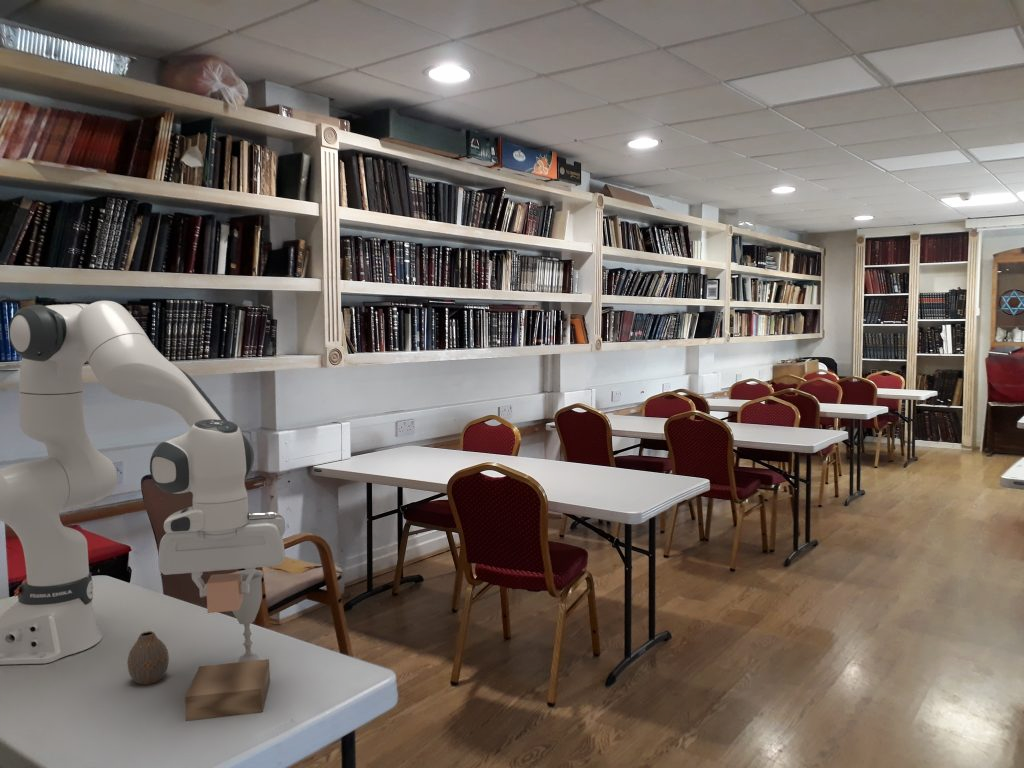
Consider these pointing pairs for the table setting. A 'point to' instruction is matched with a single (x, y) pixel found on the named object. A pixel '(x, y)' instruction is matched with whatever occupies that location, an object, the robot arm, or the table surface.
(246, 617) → the chalice
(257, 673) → the board
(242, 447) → the robot arm
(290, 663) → the table surface
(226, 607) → the block
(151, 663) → the vase
